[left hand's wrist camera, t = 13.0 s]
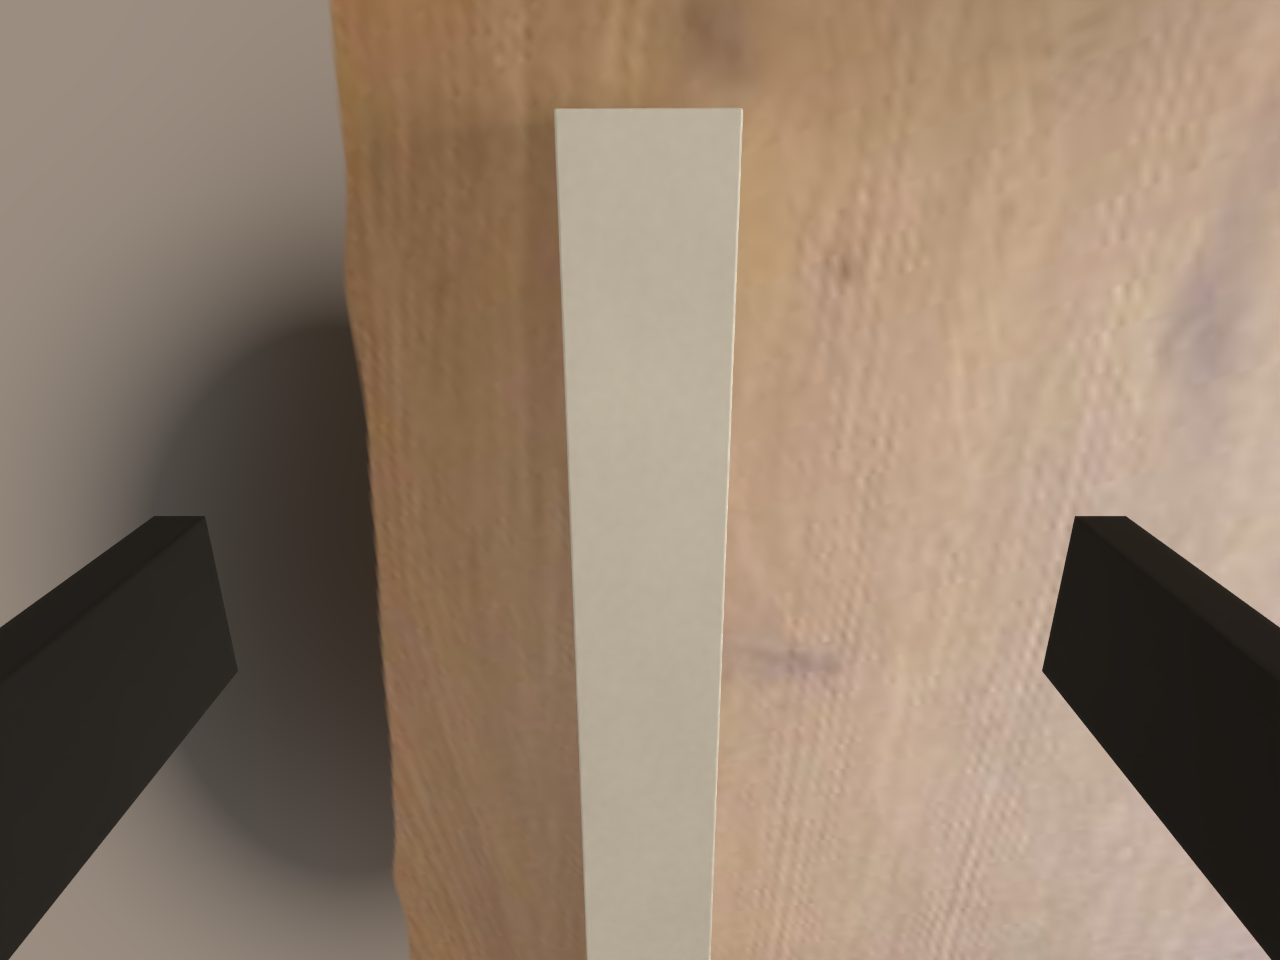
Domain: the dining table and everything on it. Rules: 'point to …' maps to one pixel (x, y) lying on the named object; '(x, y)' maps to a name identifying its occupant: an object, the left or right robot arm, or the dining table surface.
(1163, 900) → the dining table surface
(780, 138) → the dining table surface
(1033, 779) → the dining table surface
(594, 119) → the bar
